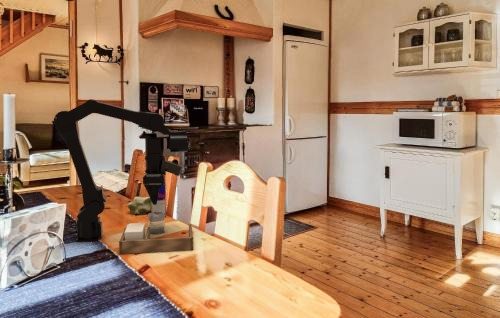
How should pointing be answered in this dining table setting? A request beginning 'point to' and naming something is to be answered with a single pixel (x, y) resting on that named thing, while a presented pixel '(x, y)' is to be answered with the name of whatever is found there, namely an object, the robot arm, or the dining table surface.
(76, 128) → the robot arm
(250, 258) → the dining table surface
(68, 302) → the dining table surface
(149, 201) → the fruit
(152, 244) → the crate
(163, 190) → the beverage can
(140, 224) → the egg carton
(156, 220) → the clear glass jar
